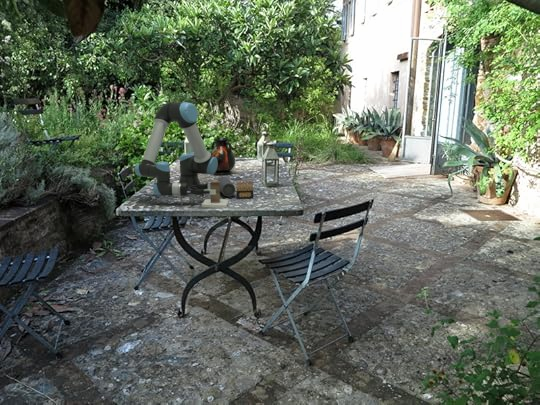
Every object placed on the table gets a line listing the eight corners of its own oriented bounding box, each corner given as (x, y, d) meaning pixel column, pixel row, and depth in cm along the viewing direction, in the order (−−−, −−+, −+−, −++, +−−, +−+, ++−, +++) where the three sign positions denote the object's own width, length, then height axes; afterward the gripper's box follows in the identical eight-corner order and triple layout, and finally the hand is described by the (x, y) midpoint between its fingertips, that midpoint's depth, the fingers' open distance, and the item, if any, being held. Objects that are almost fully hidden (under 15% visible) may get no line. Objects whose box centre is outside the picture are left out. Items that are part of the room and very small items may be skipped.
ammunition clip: (236, 199, 280) (236, 180, 277) (236, 198, 282) (235, 179, 279) (253, 198, 282) (253, 179, 279) (253, 197, 283) (253, 178, 281)
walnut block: (211, 201, 268) (211, 181, 265) (220, 201, 268) (219, 181, 265) (210, 202, 264) (210, 182, 261) (219, 202, 264) (218, 182, 261)
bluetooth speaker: (215, 191, 302) (215, 176, 300) (229, 190, 304) (229, 175, 302) (221, 198, 281) (221, 182, 278) (236, 197, 283) (236, 182, 281)
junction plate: (205, 201, 273) (205, 199, 273) (228, 201, 273) (228, 199, 273) (201, 207, 260) (201, 204, 259) (226, 207, 259) (226, 205, 259)
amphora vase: (202, 174, 360) (201, 138, 353) (220, 170, 377) (220, 136, 370) (223, 177, 348) (222, 140, 341) (241, 173, 365) (240, 138, 358)
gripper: (185, 190, 277) (219, 191, 277) (176, 200, 253) (214, 200, 253) (184, 178, 275) (219, 179, 275) (175, 187, 251) (214, 187, 251)
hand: (217, 189), depth 264 cm, fingers open, 13 cm apart
